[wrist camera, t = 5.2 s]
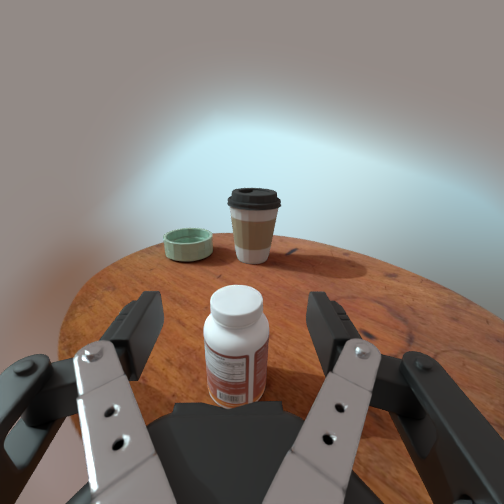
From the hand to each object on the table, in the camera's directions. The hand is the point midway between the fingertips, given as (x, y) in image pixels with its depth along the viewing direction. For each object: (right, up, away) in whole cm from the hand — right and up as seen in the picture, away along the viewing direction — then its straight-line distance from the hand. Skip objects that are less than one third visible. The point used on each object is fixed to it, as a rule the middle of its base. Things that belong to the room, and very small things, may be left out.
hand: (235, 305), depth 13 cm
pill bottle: (-1, -12, +13) cm, 17 cm away
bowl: (-14, +3, +44) cm, 46 cm away
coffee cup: (+1, +1, +43) cm, 43 cm away
